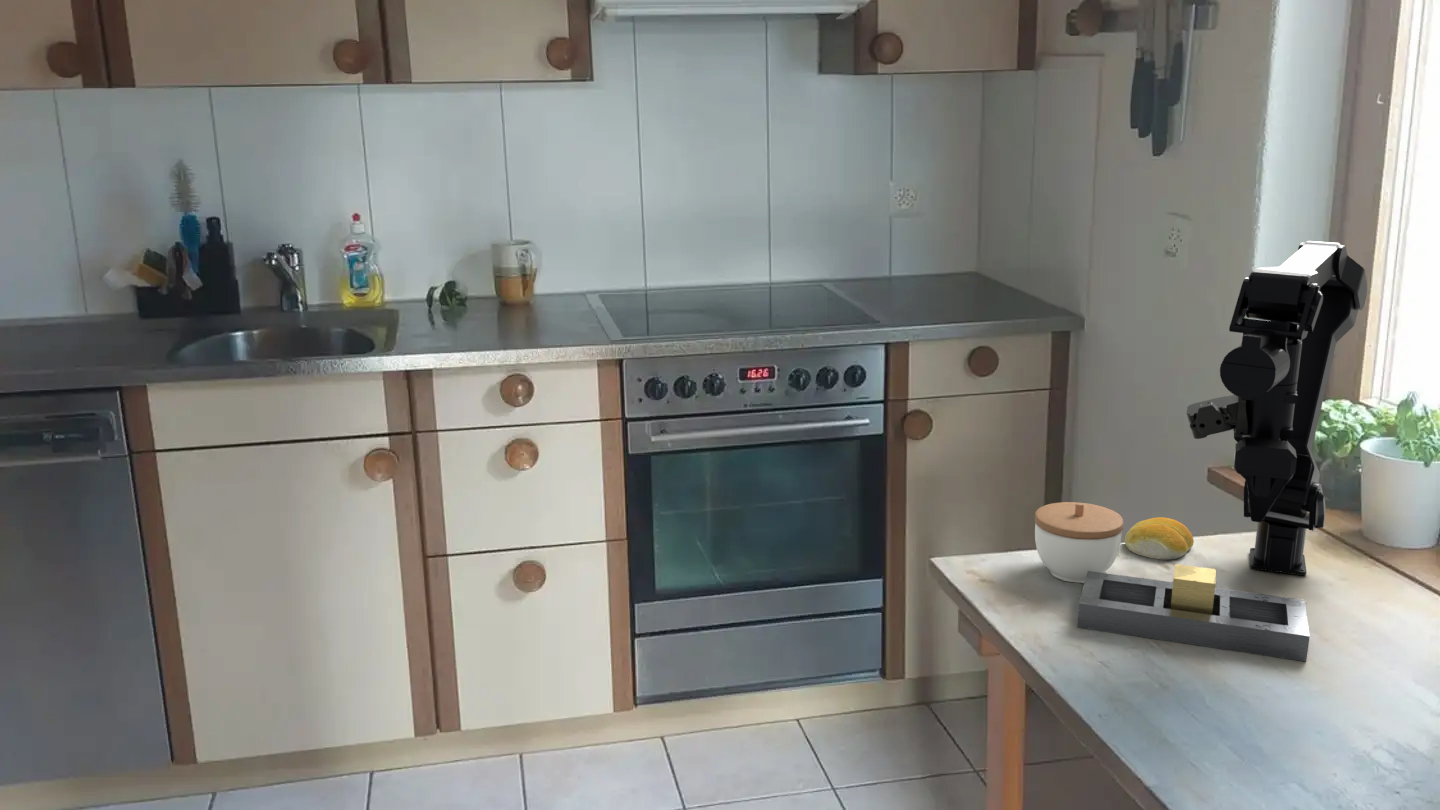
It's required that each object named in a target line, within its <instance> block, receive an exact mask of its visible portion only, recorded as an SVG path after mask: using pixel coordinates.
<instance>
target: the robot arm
mask: <svg viewBox="0 0 1440 810" xmlns="http://www.w3.org/2000/svg"><path fill="white" fill-rule="evenodd" d="M1367 293H1368V282H1367V276H1366V269H1365V268H1364V267H1363V266H1362V265H1360V264H1359V263H1358V262H1356V260H1354V259H1353V258H1352V257H1350V256H1349V255H1348V252H1347V247H1346V245H1343V244H1340V242H1331V241H1319V240H1318V241H1315V240H1307V241H1305V242H1300V244H1299V245H1298V248H1297V251H1296V252H1294V253H1293V254H1292V255H1291V256H1290V257H1289V258H1287V260H1285V261H1284V262H1283V263H1281V264H1280V265H1278V266H1277V265H1276V266H1260V267H1256V268H1254V269H1252V270H1251V272H1250V274H1249V275H1248V277H1245V278H1244V279H1243V282H1242V284H1241V287H1240V290H1239V294H1238V298H1237V301H1236V304H1235V308H1234V310H1233V315H1232V318H1231V321H1230V324H1229V329H1228V330H1229V332H1232V333H1240V334H1242V337H1241V338H1242V339H1241V343H1240V345H1238V346H1237V347H1234V348H1233V349H1232V350H1231V351H1229V352H1228V353H1227V354H1226V355H1225V356H1224V358H1223V360H1222V362H1221V363H1220V367H1219V376H1220V380H1221V382H1222V384H1223V385H1224V388H1225V389H1227V390H1228V391H1229V392H1230V393H1231V394H1232V395H1225V396H1220V397H1215V398H1210V399H1208V400H1203V401H1199V402H1194V403H1192V404H1189V405H1188V406H1187V407H1186V408H1187V409H1186V416H1187V419H1188V423H1189V428H1190V429H1191V433H1192V436H1193V437H1192V438H1193V439H1196V440H1201V439H1205V438H1207V437H1208V436H1211V435H1216V434H1220V433H1224V432H1229V431H1233V439H1234V440H1235V442H1236V443H1235V445H1234V455H1233V456H1234V457H1233V469H1234V471H1235V472H1236V474H1239V475H1240V476H1241V477H1242V478H1243V479H1244V485H1243V517H1244V518H1250V520H1251V522H1254V523H1257V524H1256V533H1255V535H1256V536H1255V542H1254V543H1255V544H1254V547H1250V549H1249V562H1250V563H1249V565H1250V568H1251V570H1257V571H1258V570H1259V571H1266V572H1267V571H1268V572H1275V573H1276V572H1277V573H1283V574H1289V575H1290V574H1291V575H1300V576H1306V575H1307V571H1308V570H1307V564H1306V558H1305V557H1306V556H1305V555H1304V550H1305V542H1306V533H1307V530H1309V531H1315V530H1316V529H1323V528H1324V527H1325V522H1326V512H1327V511H1326V499H1325V497H1326V496H1325V495H1324V492H1323V486H1322V484H1321V483H1320V477H1321V473H1320V471H1319V468H1318V466H1317V463H1316V461H1315V458H1314V455H1313V452H1312V451H1313V446H1314V445H1313V444H1314V441H1315V437H1316V432H1317V427H1318V423H1319V419H1320V414H1321V411H1322V406H1323V401H1324V399H1325V393H1326V389H1327V383H1328V380H1329V376H1330V371H1331V369H1332V368H1331V367H1332V363H1333V358H1334V354H1335V350H1336V347H1337V346H1336V345H1337V343H1338V342H1339V341H1341V339H1342V338H1343V337H1344V336H1345V335H1347V333H1348V332H1349V331H1351V329H1353V328H1354V327H1355V324H1356V320H1357V317H1358V314H1359V311H1363V309H1364V308H1365V304H1366V301H1367Z"/></svg>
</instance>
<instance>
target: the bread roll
mask: <svg viewBox="0 0 1440 810" xmlns="http://www.w3.org/2000/svg"><path fill="white" fill-rule="evenodd" d="M1124 537H1125V538H1124V544H1125V546H1126V548H1127V549H1128V550H1129V551H1130V552H1132V553H1134V554H1136V555H1139V556H1143V557H1146V558H1150V559H1154V560H1155V559H1156V560H1163V561H1165V560H1169V561H1170V560H1173V559H1180V558H1182V557H1183V556H1185V554H1186V553H1187V552H1188V551H1190V549H1191V548H1192V547H1193V546H1194V542H1195V540H1194V536H1193V534H1192V532H1191V531H1190V529H1188V527H1187V526H1185V525H1184V524H1183V523H1181V522H1180V521H1178V520H1176V519H1173V518H1169V517H1163V516H1161V517H1160V516H1159V517H1151V518H1148V519H1144V520H1140V521H1138V522H1136V523H1135V524H1134V525H1133V526H1132V527H1131V528H1130V529H1129V530H1128V532H1126V534H1125V536H1124Z"/></svg>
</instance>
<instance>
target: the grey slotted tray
mask: <svg viewBox="0 0 1440 810" xmlns="http://www.w3.org/2000/svg"><path fill="white" fill-rule="evenodd" d="M1172 589H1173V581H1166V580H1161V579H1160V580H1159V579H1158V580H1157V579H1151V578H1144V577H1137V576H1136V577H1135V576H1128V575H1122V574H1113V573H1107V572H1105V573H1100V572H1093V571H1088V573H1087V576H1086V580H1085V583H1083V587H1082V591H1081V595H1080V599H1079V602H1078V610H1077V611H1078V612H1077V613H1078V614H1077V623H1076V624H1077V625H1076V627H1077V628H1080V629H1085V630H1092V631H1099V632H1104V633H1105V632H1106V633H1111V634H1113V633H1114V634H1120V635H1126V636H1133V637H1139V638H1140V637H1141V638H1145V639H1146V638H1147V639H1154V640H1159V641H1167V642H1171V643H1172V642H1173V643H1180V644H1184V645H1185V644H1187V645H1193V646H1199V647H1205V648H1213V649H1219V650H1227V651H1232V652H1239V653H1244V654H1245V653H1246V654H1251V655H1261V656H1266V657H1273V658H1280V659H1286V660H1294V661H1301V662H1307V661H1308V654H1309V653H1308V652H1309V644H1310V628H1309V623H1308V622H1309V621H1308V614H1307V608H1306V607H1307V606H1306V600H1305V599H1301V598H1295V597H1294V598H1293V597H1287V596H1280V595H1279V596H1278V595H1272V594H1271V595H1270V594H1264V593H1256V592H1251V591H1250V592H1248V591H1243V590H1242V591H1241V590H1233V589H1225V588H1220V587H1215V592H1214V601H1213V611H1212V615H1208V614H1201V613H1194V612H1187V611H1180V610H1173V609H1171V600H1172Z"/></svg>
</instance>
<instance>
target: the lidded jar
mask: <svg viewBox="0 0 1440 810" xmlns="http://www.w3.org/2000/svg"><path fill="white" fill-rule="evenodd" d="M1034 523H1035V527H1034V539H1035V546H1036V552H1037V554H1038V556H1039V558H1040V560H1041V562H1042V564H1043V565H1044V566H1045V567H1046V568H1047V569H1048V570H1049V573H1050V574H1051V575H1052V576H1053V577H1054V578H1056V579H1059V580H1060V581H1065V582H1067V583H1068V582H1070V583H1074V584H1075V583H1077V584H1078V583H1079V584H1084V583H1085V580H1086V576H1087V573H1088V571H1093V572H1100V573H1107V571H1108V570H1109V569H1110V568H1111V567H1112V566H1113V564H1114V562H1115V560H1116V558H1117V557H1118V555H1119V552H1120V551H1119V550H1120V547H1121V542H1122V532H1123V529H1124V519H1123V517H1122V516H1121V515H1120V514H1119V513H1118V512H1116V511H1115V510H1112V509H1110V508H1107V507H1105V506H1101V505H1097V504H1093V503H1084V502H1078V501H1077V502H1075V501H1073V502H1072V501H1071V502H1070V501H1064V502H1063V501H1062V502H1052V503H1049V504H1046V505H1042V506H1040V507H1039V508H1037V510H1036V511H1035V513H1034Z"/></svg>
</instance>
